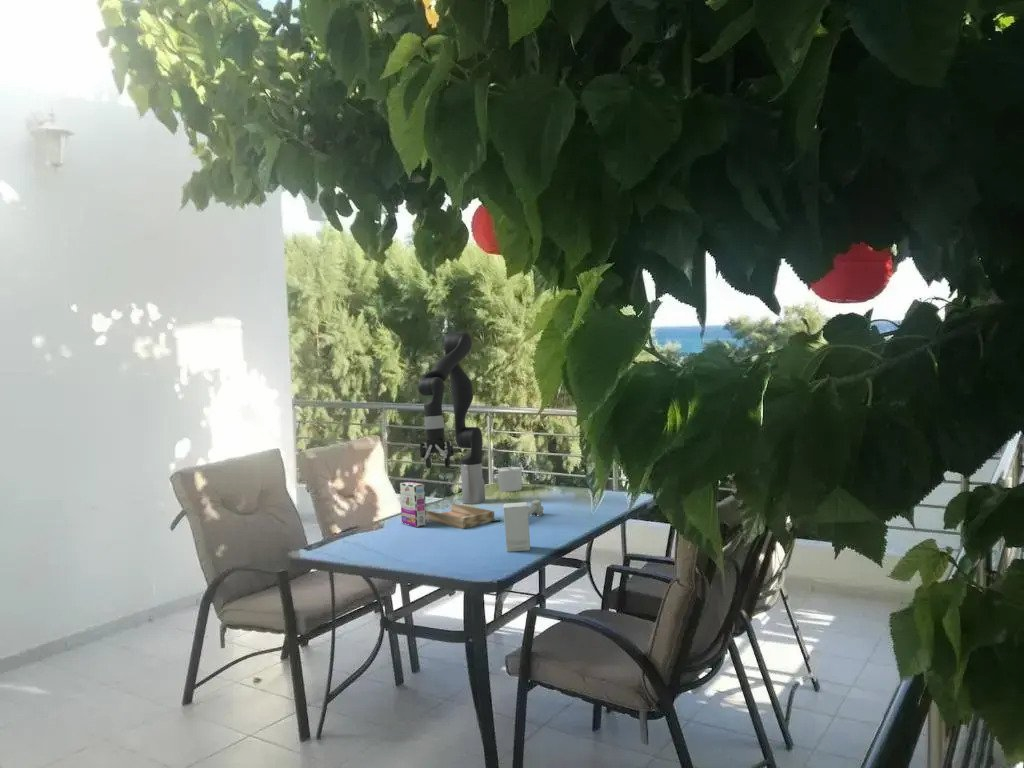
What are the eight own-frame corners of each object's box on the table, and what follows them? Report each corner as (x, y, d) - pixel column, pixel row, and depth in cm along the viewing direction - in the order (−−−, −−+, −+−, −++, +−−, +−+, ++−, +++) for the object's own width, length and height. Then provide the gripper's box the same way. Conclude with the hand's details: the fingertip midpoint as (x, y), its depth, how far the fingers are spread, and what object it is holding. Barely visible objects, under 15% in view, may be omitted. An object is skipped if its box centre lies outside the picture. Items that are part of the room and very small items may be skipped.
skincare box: (529, 546, 284) (527, 501, 283) (530, 551, 278) (528, 505, 277) (505, 547, 284) (503, 502, 283) (505, 552, 278) (503, 506, 277)
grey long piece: (506, 517, 313) (532, 496, 335) (508, 534, 314) (534, 511, 336) (519, 518, 311) (544, 496, 333) (521, 535, 312) (546, 512, 334)
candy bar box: (427, 525, 322) (425, 484, 321) (416, 527, 319) (414, 486, 318) (411, 521, 331) (409, 480, 330) (401, 523, 328) (399, 482, 327)
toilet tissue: (523, 487, 394) (522, 466, 393) (520, 492, 382) (519, 470, 381) (501, 487, 395) (500, 467, 394) (497, 492, 383) (496, 471, 383)
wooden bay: (453, 512, 344) (453, 503, 343) (494, 521, 324) (494, 511, 324) (422, 519, 333) (422, 510, 332) (463, 529, 314) (462, 518, 313)
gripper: (454, 425, 329) (458, 466, 329) (424, 427, 336) (428, 467, 336) (444, 427, 323) (448, 468, 323) (414, 429, 329) (418, 469, 329)
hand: (438, 467), depth 329 cm, fingers open, 8 cm apart
